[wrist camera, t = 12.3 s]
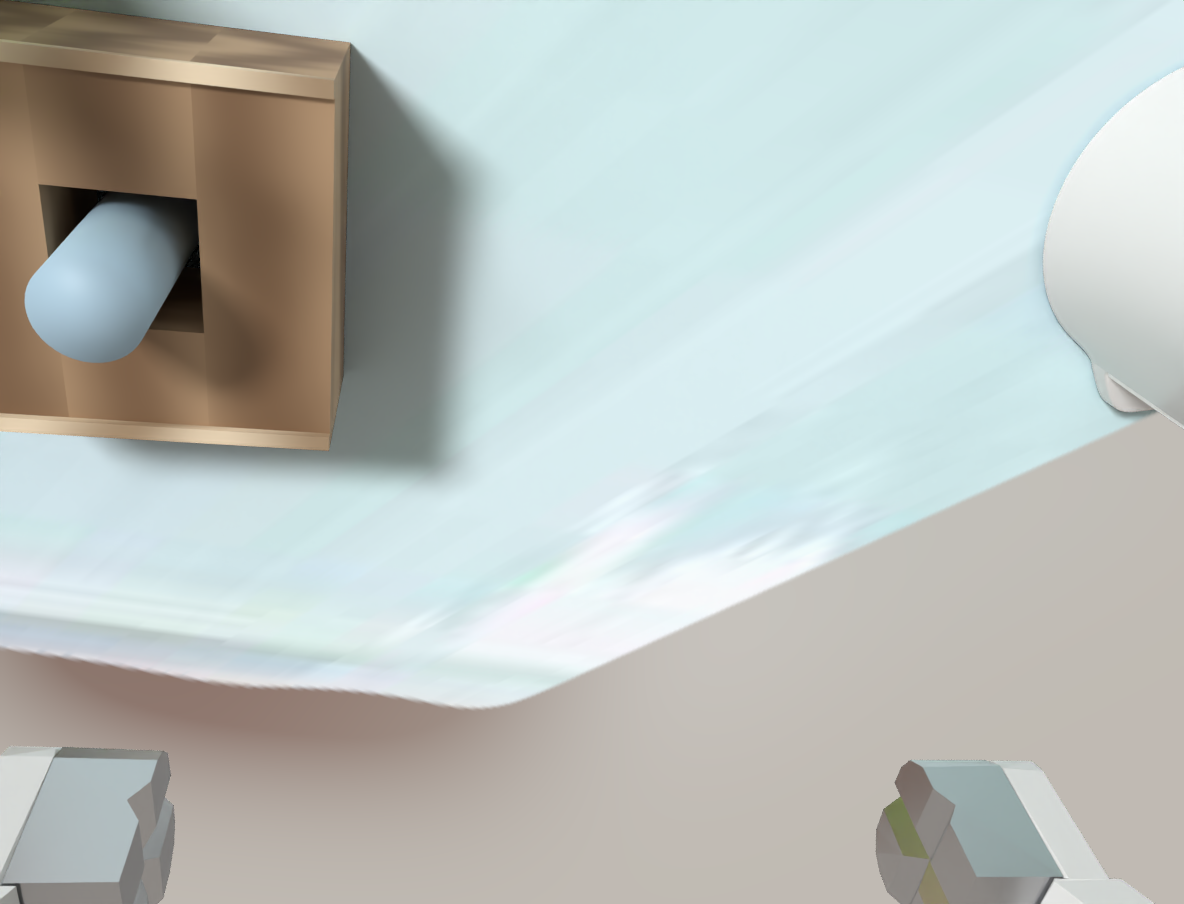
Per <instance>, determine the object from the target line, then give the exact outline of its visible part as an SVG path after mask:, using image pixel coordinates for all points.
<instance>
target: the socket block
mask: <svg viewBox="0 0 1184 904" xmlns="http://www.w3.org/2000/svg"><path fill="white" fill-rule="evenodd" d="M349 84H350V43H349V42H341V41H333V40H325V39H317V38H308V37H300V36H292V35H284V34H276V33H268V32H260V31H252V30H244V29H236V28H228V27H220V26H212V25H203V24H195V23H187V22H179V21H171V20H163V19H155V18H147V17H139V16H131V15H123V14H115V13H107V12H98V11H90V10H82V9H74V8H66V7H58V6H50V5H42V4H34V3H26V2H18V1H10V0H0V431H5V432H21V433H38V434H55V435H72V436H89V437H105V438H122V439H139V440H156V441H172V442H189V443H206V444H223V445H240V446H256V447H273V448H290V449H307V450H324V451H329V448H330V443H331V438H332V432H333V427H334V422H335V417H336V411H337V406H338V401H339V396H340V391H341V385H342V380H343V366H344V319H345V272H346V225H347V178H348V131H349ZM97 190H104V191H114V192H125V193H135V194H145V195H156V196H166V197H176V198H187V199H197V212H198V231H199V249H200V268H193V267H184V268H183V270H182V272H181V274H180V275H179V277H178V279H177V280H176V282H175V284H174V286H173V287H172V289H171V291H170V292H169V294H168V296H167V298H166V299H165V301H164V303H163V305H162V306H161V308H160V310H159V311H158V313H157V315H156V317H155V318H154V320H153V322H152V323H151V325H150V327H149V329H148V330H147V332H146V334H145V336H144V337H143V339H142V341H141V342H140V344H139V345H138V346H137V347H136V348H135V349H134V350H133V351H132V352H131V353H129V354H128V355H126V356H124V357H123V358H120V359H118V360H115V361H111V362H104V363H90V362H83V361H79V360H75V359H72V358H69V357H67V356H65V355H63V354H61V353H59V352H58V351H56V350H54V349H53V348H52V347H50V346H49V345H48V344H47V343H45V342H44V341H43V340H42V339H41V338H40V336H39V335H38V334H37V333H36V331H35V330H34V329H33V327H32V325H31V323H30V321H29V319H28V316H27V313H26V309H25V292H26V288H27V285H28V283H29V281H30V279H31V278H32V276H33V275H34V274H35V273H36V271H37V270H38V269H39V268H40V267H41V266H42V265H43V264H44V262H45V261H46V260H47V259H48V258H49V257H50V256H51V255H52V254H53V252H54V251H55V250H56V249H57V248H58V247H59V246H60V245H61V243H62V242H63V241H64V240H65V239H66V238H67V237H68V236H69V234H70V233H71V232H72V231H73V230H74V229H75V228H76V227H77V225H78V224H79V223H80V222H81V221H82V220H83V219H84V218H85V216H86V215H87V214H88V213H89V212H90V211H91V210H92V209H93V207H94V206H95V205H96V204H97V203H98V195H97Z"/></svg>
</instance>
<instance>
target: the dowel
mask: <svg viewBox="0 0 1184 904" xmlns="http://www.w3.org/2000/svg"><path fill="white" fill-rule="evenodd" d="M198 243H199V231H198V212H197V199H187V198H176V197H166V196H156V195H145V194H135V193H125V192H114V191H108V192H107V193H106V194H105V195H104V196H103V197H102V198H101V200H100V201H99V202H98V203H97V204H96V205H95V206H94V207H93V209H92V210H91V211H90V212H89V213H88V214H87V215H86V216H85V218H84V219H83V220H82V221H81V222H80V223H79V224H78V225H77V227H76V228H75V229H74V230H73V231H72V232H71V233H70V234H69V236H68V237H67V238H66V239H65V240H64V241H63V242H62V243H61V245H60V246H59V247H58V248H57V249H56V250H55V251H54V252H53V254H52V255H51V256H50V257H49V258H48V259H47V260H46V261H45V262H44V264H43V265H42V266H41V267H40V268H39V269H38V270H37V271H36V273H35V274H34V275H33V276H32V278H31V279H30V281H29V283H28V285H27V288H26V292H25V309H26V313H27V316H28V319H29V321H30V323H31V325H32V327H33V329H34V330H35V331H36V333H37V334H38V335H39V336H40V338H41V339H42V340H43V341H44V342H45V343H47V344H48V345H49V346H50V347H52V348H53V349H54V350H56V351H58V352H59V353H61V354H63V355H65V356H67V357H69V358H72V359H75V360H79V361H83V362H90V363H104V362H111V361H115V360H118V359H120V358H123V357H124V356H126V355H128V354H129V353H131V352H132V351H133V350H134V349H135V348H136V347H137V346H138V345H139V344H140V342H141V341H142V339H143V337H144V336H145V334H146V332H147V330H148V329H149V327H150V325H151V323H152V322H153V320H154V318H155V317H156V315H157V313H158V311H159V310H160V308H161V306H162V305H163V303H164V301H165V299H166V298H167V296H168V294H169V292H170V291H171V289H172V287H173V286H174V284H175V282H176V280H177V279H178V277H179V275H180V274H181V272H182V270H183V268H184V267H185V265H186V263H187V261H188V260H189V258H190V256H191V255H192V253H193V251H194V249H195V248H196V246H197V244H198Z"/></svg>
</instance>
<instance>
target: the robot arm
mask: <svg viewBox="0 0 1184 904" xmlns="http://www.w3.org/2000/svg"><path fill="white" fill-rule="evenodd" d="M1043 275H1044V283H1045V288H1046V293H1047V296H1048V300H1049V303H1050V305H1051V308H1052V310H1053V312H1054V314H1055V316H1056V318H1057V320H1058V321H1059V323H1060V324H1061V326H1062V327H1063V328H1064V330H1065V331H1066V332H1067V333H1068V334H1069V335H1070V336H1071V337H1072V339H1073V340H1074V341H1075V342H1076V343H1077V344H1078V345H1079V346H1080V347H1081V348H1082V349H1083V350H1084V351H1085V352H1086V354H1087V355H1088V357H1089V358H1090V360H1091V363H1092V368H1093V373H1094V378H1095V382H1096V385H1097V389H1098V391H1099V394H1100V396H1101V397H1102V399H1103V400H1104V401H1105V402H1107V403H1108V404H1110V405H1111V406H1113V407H1114V408H1116V409H1117V410H1119V411H1122V412H1138V411H1147V410H1156V411H1158V412H1159V413H1161V414H1162V415H1163V416H1165V417H1166V418H1168V419H1169V420H1171V421H1172V422H1174V423H1175V424H1176V425H1178V426H1179V427H1181V428H1182V429H1184V67H1182V68H1180V69H1178V70H1176V71H1174V72H1172V73H1171V74H1169V75H1167V76H1165V77H1164V78H1162V79H1160V80H1159V81H1157V82H1155V83H1154V84H1152V85H1151V86H1149V87H1148V88H1147V89H1145V90H1144V91H1142V92H1141V93H1140V94H1138V95H1137V96H1136V97H1134V98H1133V99H1132V100H1131V101H1129V102H1128V103H1127V104H1126V105H1125V106H1124V107H1123V108H1121V109H1120V110H1119V111H1118V112H1117V113H1116V114H1115V115H1114V116H1113V117H1112V118H1111V119H1110V120H1109V121H1108V122H1107V123H1106V124H1105V125H1104V126H1103V127H1102V128H1101V129H1100V131H1099V132H1098V133H1097V134H1096V135H1095V136H1094V138H1093V139H1092V140H1091V141H1090V143H1089V144H1088V145H1087V146H1086V148H1085V149H1084V151H1083V152H1082V153H1081V155H1080V156H1079V158H1078V159H1077V161H1076V162H1075V164H1074V166H1073V167H1072V169H1071V171H1070V172H1069V174H1068V176H1067V178H1066V180H1065V181H1064V184H1063V186H1062V188H1061V190H1060V192H1059V194H1058V197H1057V199H1056V201H1055V204H1054V207H1053V210H1052V213H1051V216H1050V219H1049V223H1048V227H1047V231H1046V236H1045V242H1044V251H1043ZM170 776H171V773H170V765H169V758H168V753H167V752H165V751H154V750H153V751H152V750H126V749H101V748H99V749H98V748H74V747H62V748H57V747H27V746H9V747H8V748H7V749H6V750H5V751H4V752H3V753H2V754H1V755H0V904H157V903H159V902H160V901H161V900H162V899H163V897H164V893H165V889H166V885H167V881H168V877H169V873H170V867H171V861H172V854H173V847H174V832H175V817H174V805H173V804H172V803H171V802H170V801H168V800H167V799H166V798H165V794H166V791H167V787H168V784H169V780H170ZM895 785H896V787H897V789H898V791H899V793H900V797H899V798H898V799H896V800H895V801H894V802H892V803H891V804H890V805H888V806H887V807H886V808H884V809H883V812H882V815H881V818H880V821H879V823H878V826H877V829H876V856H877V861H878V866H879V871H880V874H881V877H882V880H883V882H884V885H885V887H886V890H887V892H888V893H889V894H890V895H891V896H892V897H894V898H895V899H896V900H897V901H898V902H899V903H900V904H1155V903H1153V902H1152V901H1151V900H1149V899H1148V898H1147V897H1145V896H1144V895H1143V894H1141V893H1140V892H1139V891H1137V890H1136V889H1134V888H1133V887H1132V886H1130V885H1129V884H1128V883H1126V882H1125V881H1124V880H1122V879H1111V878H1109V877H1108V876H1107V874H1106V872H1105V871H1104V869H1103V867H1102V866H1101V864H1100V862H1099V861H1098V859H1097V858H1096V856H1095V855H1094V853H1093V851H1092V850H1091V848H1090V846H1089V845H1088V843H1087V841H1086V840H1085V838H1084V837H1083V835H1082V833H1081V832H1080V830H1079V829H1078V827H1077V825H1076V824H1075V822H1074V821H1073V819H1072V817H1071V816H1070V814H1069V812H1068V811H1067V809H1066V807H1065V806H1064V804H1063V803H1062V801H1061V799H1060V798H1059V796H1058V794H1057V793H1056V791H1055V790H1054V788H1053V786H1052V785H1051V783H1050V781H1049V780H1048V778H1047V777H1046V775H1045V773H1044V772H1043V770H1042V769H1041V768H1040V767H1039V766H1037V765H1036V764H1035V763H1033V762H1032V761H986V760H910V761H908V762H907V763H906V764H905V765H904V766H902V767H901V769H900V772H899V774H898V776H897V778H896V781H895Z"/></svg>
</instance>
